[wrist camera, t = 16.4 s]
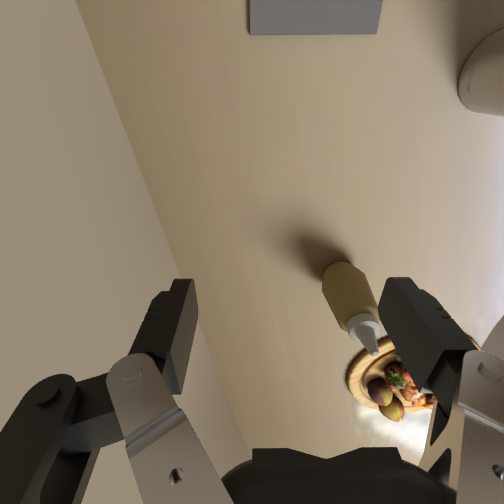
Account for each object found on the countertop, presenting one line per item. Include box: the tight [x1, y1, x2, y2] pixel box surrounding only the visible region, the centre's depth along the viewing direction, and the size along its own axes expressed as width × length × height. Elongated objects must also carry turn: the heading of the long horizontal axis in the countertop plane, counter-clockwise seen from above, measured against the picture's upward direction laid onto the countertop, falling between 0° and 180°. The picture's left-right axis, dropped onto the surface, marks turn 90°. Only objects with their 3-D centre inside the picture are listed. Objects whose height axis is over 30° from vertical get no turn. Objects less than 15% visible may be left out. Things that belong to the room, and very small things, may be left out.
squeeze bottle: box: [322, 261, 381, 356], centre depth 45 cm, size 8×8×18 cm
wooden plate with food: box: [347, 337, 482, 422], centre depth 66 cm, size 32×32×8 cm
